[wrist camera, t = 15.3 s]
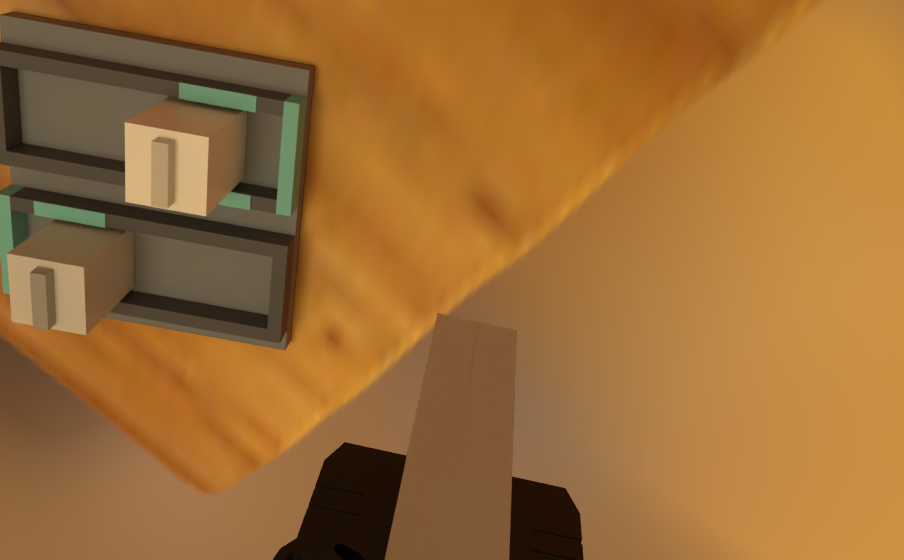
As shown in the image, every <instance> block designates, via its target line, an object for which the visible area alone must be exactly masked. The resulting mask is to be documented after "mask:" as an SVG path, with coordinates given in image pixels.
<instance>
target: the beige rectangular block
mask: <svg viewBox="0 0 904 560" xmlns="http://www.w3.org/2000/svg"><path fill="white" fill-rule="evenodd" d="M246 129H247V111H244V110H239V109H233V108H227V107H222V106H216V105H211V104H205V103H200V102H194V101H189V100H183V99H179V98H177V97H172V96H169V97H168V98H166V99H164V100H162V101H161V102H159V103H157V104H155V105H154V106H152V107H150V108H149V109H147V110H145V111H143V112H142V113H140V114H138V115H136V116H135V117H133V118H131V119H130V120H128V121H126V122H125V202H129V203H134V204H140V205H145V206H151V207H156V208H162V209H167V210H173V211H179V212H184V213H190V214H195V215H201V216H207V215H208V214H209V213H210V212H211V211H212V210H213V209H214V208H215V207H216V206H217V205H218V204H219V203H220V202H221V201H222V200H223V199H224V198H225V197H226V196H227V195H228V194H229V193H230V192H231V191H232V190H233V189H234V188H235V187H236V186H237V184H238V183H239V182H240V181H241V180H242V179H243V178H244V165H245V147H246Z"/></svg>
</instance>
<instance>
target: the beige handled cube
mask: <svg viewBox="0 0 904 560" xmlns="http://www.w3.org/2000/svg"><path fill="white" fill-rule="evenodd" d="M7 263H8V277H9V290H10V303H11V316H12V322H16V323H22V324H27V325H33V328H37V329H43V330H49V329H55V330H60V331H66V332H71V333H77V334H82V335H87V334H88V333H89V332H90V331H91V330H92V329H93V328H94V327H95V326H96V325H97V324H98V323H99V322H100V321H101V320H102V319H103V318H104V317H105V316H106V315H107V314H108V313H109V312H110V311H111V310H112V309H113V308H114V307H115V306H116V305H117V304H118V303H119V302H120V301H121V300H122V299H123V298H124V297H125V296H126V295H127V294H128V293H129V292H130V291H131V290H132V288H133V287H134V232H131V231H126V230H120V229H115V228H109V227H106V228H103V227H97V226H92V225H86V224H81V223H75V222H70V221H64V220H59V219H55V220H54V221H52V222H51V223H49V224H48V225H47V226H45V227H44V228H42V229H41V230H39V231H38V232H37V233H35V234H34V235H32V236H31V237H29V238H28V239H27V240H25V241H24V242H22V243H21V244H19V245H18V246H17V247H15V248H14V249H12V250H11V251H9V252H8V253H7Z"/></svg>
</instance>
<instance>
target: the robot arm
mask: <svg viewBox="0 0 904 560" xmlns="http://www.w3.org/2000/svg"><path fill="white" fill-rule="evenodd" d="M516 337H517V331H516V330H512V329H507V328H503V327H498V326H494V325H489V324H485V323H480V322H475V321H471V320H467V319H462V318H458V317H453V316H448V315H444V314H439V313H438V315H437V319H436V324H435V328H434V333H433V337H432V342H431V346H430V351H429V355H428V360H427V364H426V369H425V373H424V378H423V382H422V387H421V391H420V396H419V400H418V405H417V409H416V414H415V418H414V422H413V427H412V432H411V436H410V441H409V446H408V450H407V455H406V456H405V455H401V454H396V453H392V452H387V451H383V450H378V449H373V448H368V447H364V446H360V445H355V444H351V443H346V442H345V443H343V444H342V445H341V446H340V447H339V448H338V449H337V450H336V451H334V453H332V454H331V455H330V456H329V457H328V458H326V459H325V460H324V463H323V466H322V469H321V471H320V475H319V477H318V480H317V483H316V487H315V489H314V491H313V495H312V497H311V500H310V503H309V506H308V509H307V512H306V514H305V517H304V519H303V522H302V525H301V528H300V531H299V533H298V537H297V538H296V539H295V540H293V541H291V542H290V543H288V544H287V545H285V546H283V547H282V548H281V549H280V550H279V551H278V553H277V554H276V556H275V557H274V559H273V560H583V547H582V544H581V541H582V535H581V521H580V513H579V511H578V509H577V508H576V506H575V504H574V502H573V501H572V499H571V497H570V495H569V494H568V492H567V490H566V489H565V488H561V487H557V486H553V485H548V484H544V483H539V482H534V481H529V480H525V479H520V478H516V477H512V459H513V429H514V398H515V367H516Z"/></svg>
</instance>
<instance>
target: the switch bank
mask: <svg viewBox="0 0 904 560" xmlns="http://www.w3.org/2000/svg"><path fill="white" fill-rule="evenodd" d="M0 29H1V42H0V164H4V165H9V166H10V171H11V185H9V186H8V187H6V188H4V189H2V190H1V191H0V259H1V272H2V284H3V293H6V294H10V290H9V277H8V263H7V253H8V252H9V251H11V250H12V249H14V248H15V247H17V246H18V245H19V244H21V243H22V242H24V241H25V240H27V239H28V238H29V237H31V236H32V235H34V234H35V233H37V232H38V231H39V230H41V229H42V228H44V227H45V226H47V225H48V224H49V223H51V222H52V221H54V220H55V219H59V220H64V221H70V222H75V223H81V224H86V225H92V226H97V227H103V228H106V227H109V228H115V229H120V230H126V231H131V232H134V287H133V288H132V290H131V291H130V292H129V293H128V294H127V295H126V296H125V297H124V298H123V299H122V300H121V301H120V302H119V303H118V304H117V305H116V306H115V307H114V308H113V309H112V310H111V311H110V312H109V313H108V314H107V315H106V316H105V318H111V319H116V320H122V321H127V322H133V323H138V324H144V325H149V326H155V327H160V328H166V329H171V330H177V331H182V332H187V333H193V334H198V335H204V336H209V337H215V338H220V339H226V340H231V341H237V342H242V343H248V344H253V345H259V346H264V347H270V348H275V349H281V350H286V348H287V346H288V344H289V342H290V340H291V329H292V317H293V306H294V295H295V283H296V272H297V261H298V249H299V238H300V227H301V216H302V204H303V193H304V182H305V170H306V159H307V148H308V136H309V125H310V114H311V102H312V91H313V80H314V68H315V66H312V65H306V64H301V63H295V62H289V61H284V60H278V59H273V58H267V57H262V56H256V55H251V54H245V53H239V52H234V51H228V50H223V49H217V48H212V47H206V46H200V45H195V44H189V43H184V42H178V41H173V40H167V39H162V38H156V37H150V36H145V35H139V34H134V33H128V32H123V31H117V30H111V29H106V28H100V27H95V26H89V25H84V24H78V23H72V22H67V21H61V20H56V19H50V18H45V17H39V16H34V15H28V14H22V13H17V12H9V13H5V14H1V15H0ZM169 96H172V97H177V98H179V99H183V100H189V101H194V102H200V103H205V104H211V105H216V106H222V107H227V108H233V109H239V110H244V111H247V129H246V147H245V165H244V178H243V179H242V180H241V181H240V182H239V183H238V184H237V186H236V187H235V188H234V189H233V190H232V191H231V192H230V193H229V194H228V195H227V196H226V197H225V198H224V199H223V200H222V201H221V202H220V203H219V204H218V205H217V206H216V207H215V208H214V209H213V210H212V211H211V212H210V213H209V214H208V215H207V216H201V215H195V214H190V213H184V212H179V211H173V210H167V209H162V208H156V207H151V206H145V205H140V204H134V203H129V202H125V122H126V121H128V120H130V119H131V118H133V117H135V116H136V115H138V114H140V113H142V112H143V111H145V110H147V109H149V108H150V107H152V106H154V105H155V104H157V103H159V102H161V101H162V100H164V99H166V98H168V97H169Z"/></svg>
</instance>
